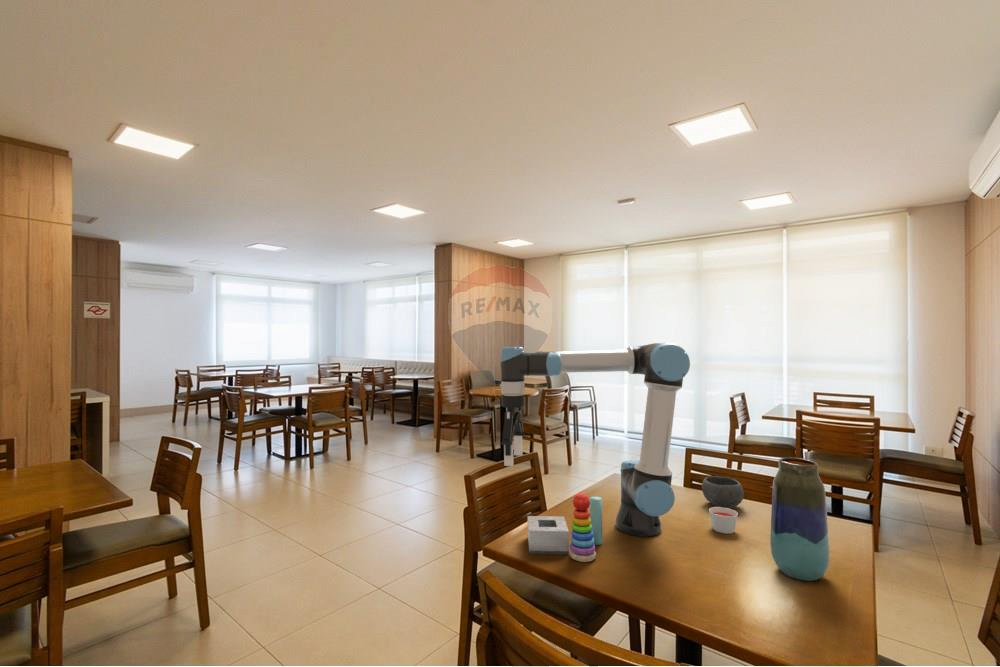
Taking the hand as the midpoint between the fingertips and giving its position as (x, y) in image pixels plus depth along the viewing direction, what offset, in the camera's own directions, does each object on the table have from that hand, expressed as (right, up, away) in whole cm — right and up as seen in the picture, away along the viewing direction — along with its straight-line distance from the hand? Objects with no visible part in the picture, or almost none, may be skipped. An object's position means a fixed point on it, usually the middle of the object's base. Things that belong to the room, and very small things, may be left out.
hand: (513, 460), depth 147 cm
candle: (+73, -27, +10) cm, 78 cm away
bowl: (+84, -28, +34) cm, 95 cm away
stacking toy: (+20, -26, -10) cm, 35 cm away
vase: (+79, -26, -20) cm, 86 cm away
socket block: (+11, -26, -3) cm, 28 cm away
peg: (+27, -27, 0) cm, 38 cm away
